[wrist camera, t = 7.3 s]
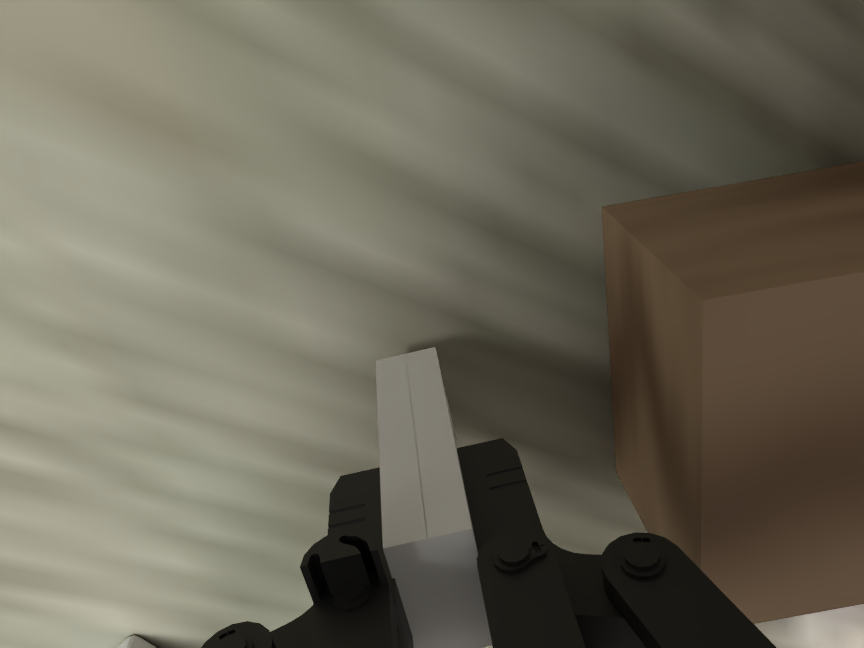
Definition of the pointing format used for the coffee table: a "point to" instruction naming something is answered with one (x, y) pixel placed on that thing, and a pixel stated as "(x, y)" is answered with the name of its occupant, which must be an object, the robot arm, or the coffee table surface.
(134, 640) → the ink box
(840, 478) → the walnut block
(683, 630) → the robot arm
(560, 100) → the coffee table surface
